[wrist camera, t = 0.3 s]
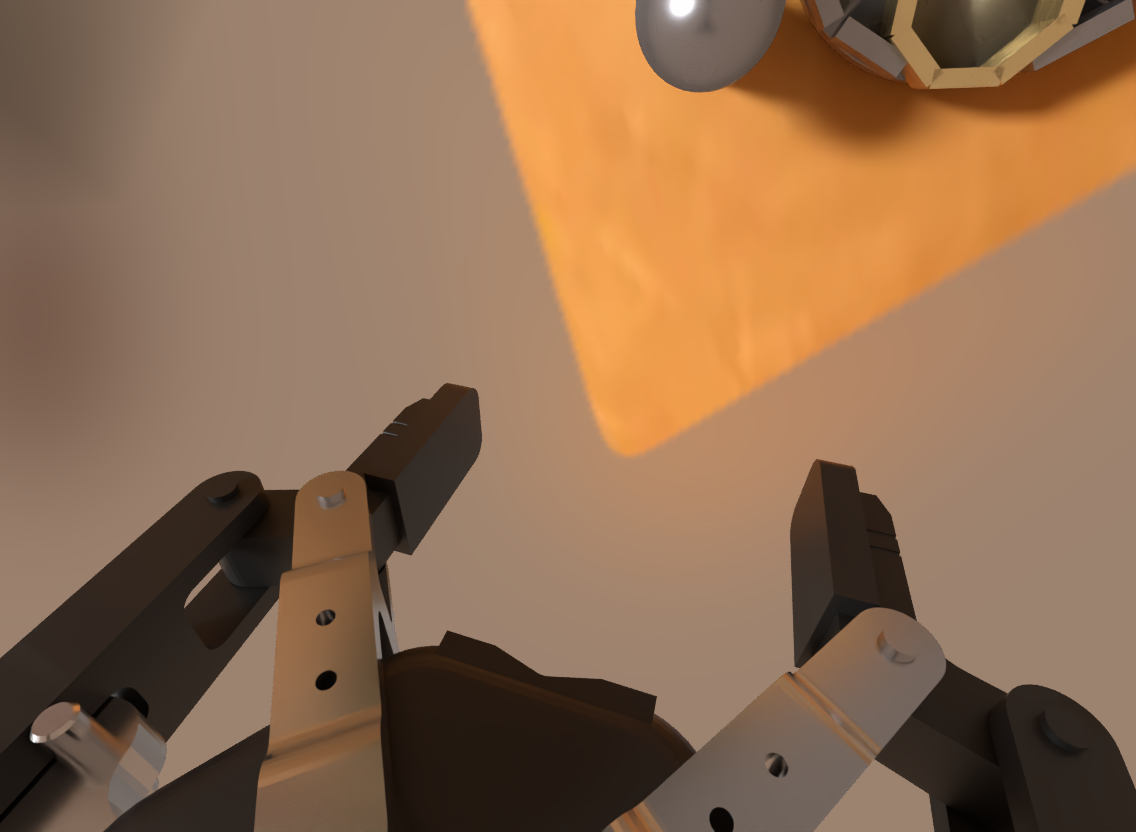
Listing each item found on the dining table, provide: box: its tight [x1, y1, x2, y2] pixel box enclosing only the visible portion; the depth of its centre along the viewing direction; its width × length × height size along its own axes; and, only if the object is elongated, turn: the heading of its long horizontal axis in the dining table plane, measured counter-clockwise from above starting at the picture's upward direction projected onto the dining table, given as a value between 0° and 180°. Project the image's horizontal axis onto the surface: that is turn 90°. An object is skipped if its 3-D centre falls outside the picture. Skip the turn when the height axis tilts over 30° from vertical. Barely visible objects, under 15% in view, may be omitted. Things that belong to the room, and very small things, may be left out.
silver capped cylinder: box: [635, 0, 786, 93], centre depth 26 cm, size 6×6×10 cm
